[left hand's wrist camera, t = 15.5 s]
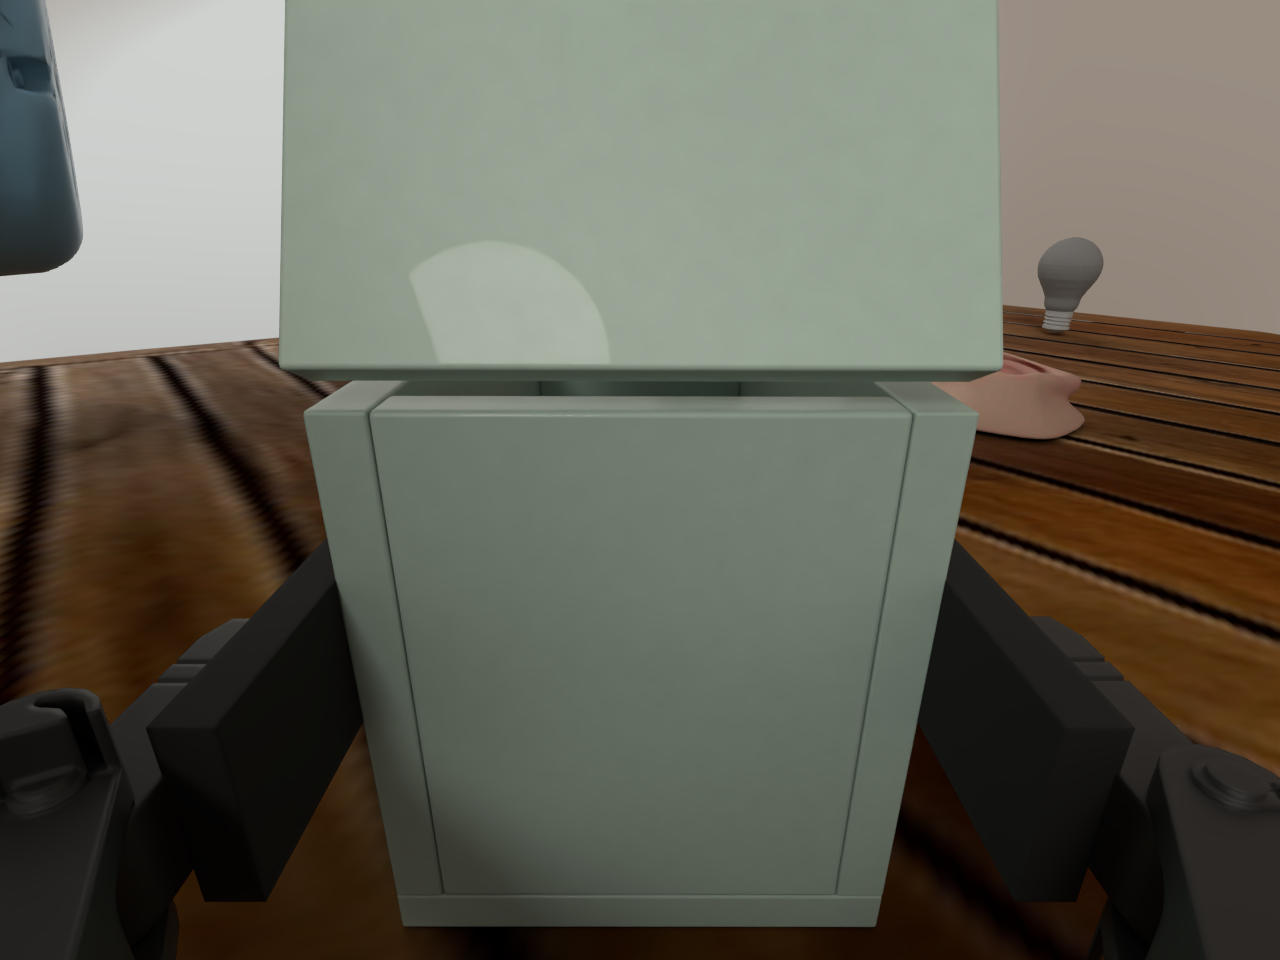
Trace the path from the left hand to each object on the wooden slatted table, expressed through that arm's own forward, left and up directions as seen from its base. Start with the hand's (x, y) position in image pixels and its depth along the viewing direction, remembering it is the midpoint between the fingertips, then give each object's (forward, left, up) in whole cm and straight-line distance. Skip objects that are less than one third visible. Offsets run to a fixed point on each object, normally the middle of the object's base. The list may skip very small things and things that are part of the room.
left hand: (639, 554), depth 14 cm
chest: (-4, +3, -6) cm, 8 cm away
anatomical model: (-10, +40, -6) cm, 41 cm away
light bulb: (-20, +77, -6) cm, 80 cm away
